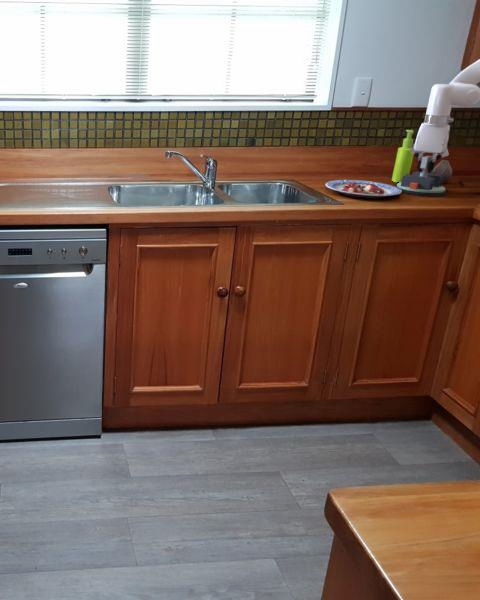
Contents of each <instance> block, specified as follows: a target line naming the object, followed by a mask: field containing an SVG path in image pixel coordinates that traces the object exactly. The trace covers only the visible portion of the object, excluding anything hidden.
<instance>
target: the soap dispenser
mask: <svg viewBox="0 0 480 600" xmlns="http://www.w3.org/2000/svg"><path fill="white" fill-rule="evenodd" d="M405 132H406V133H407V134H406V137H405V138H403V142H402V145H401V147H398V148H397V152H396V157H395V161H394V166H393V171H392V176H391V182H392V181H393V183H397V182H399V183H400V182H402V177H403V175H406V174H408V175H411V168H412V164H413V160H414V157H415V155H413V154H412V153H410V152H409V151H410V149H411V148H412V147H413V145H414V139H413V134H414V130H413V129H406V130H405Z"/></svg>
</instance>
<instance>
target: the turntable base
mask: <svg viewBox="0 0 480 600" xmlns="http://www.w3.org/2000/svg"><path fill="white" fill-rule="evenodd" d="M395 187H397V185H395ZM397 188H399V187H397ZM399 189H401V188H399ZM401 190H402V193H401V194H404V193H407V194H406V195H409V194H412V195H411V196H415V195H418V196H417V197H425V196H427V197H426V198H434V197H435V198H439V197H444V196H446V194H447V190H445V191H444V192H441V193H423V192H414V191H409V190H404V189H401Z"/></svg>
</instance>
